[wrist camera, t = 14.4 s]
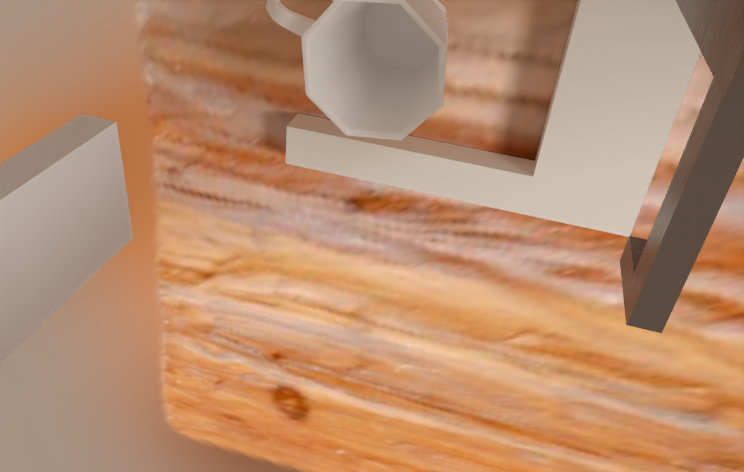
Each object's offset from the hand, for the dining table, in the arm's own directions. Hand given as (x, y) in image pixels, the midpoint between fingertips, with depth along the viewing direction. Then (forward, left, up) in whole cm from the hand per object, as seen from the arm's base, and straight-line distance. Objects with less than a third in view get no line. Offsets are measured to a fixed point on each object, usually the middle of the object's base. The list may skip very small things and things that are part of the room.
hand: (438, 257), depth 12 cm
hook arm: (+2, +7, -24) cm, 25 cm away
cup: (+3, -7, -26) cm, 27 cm away
